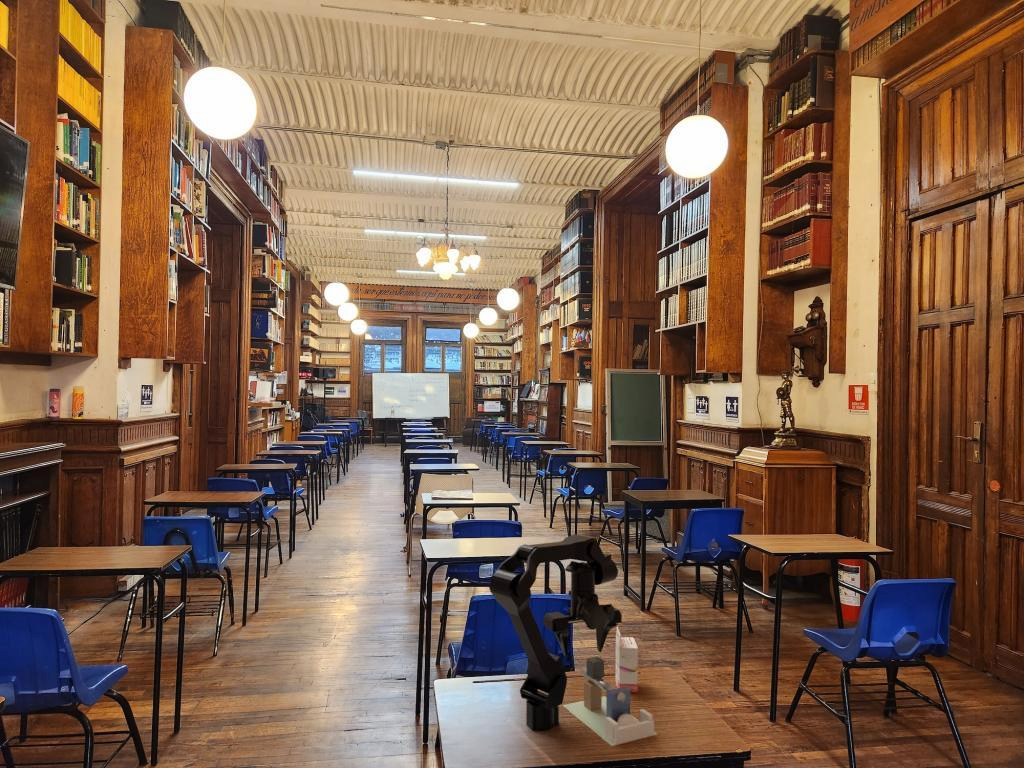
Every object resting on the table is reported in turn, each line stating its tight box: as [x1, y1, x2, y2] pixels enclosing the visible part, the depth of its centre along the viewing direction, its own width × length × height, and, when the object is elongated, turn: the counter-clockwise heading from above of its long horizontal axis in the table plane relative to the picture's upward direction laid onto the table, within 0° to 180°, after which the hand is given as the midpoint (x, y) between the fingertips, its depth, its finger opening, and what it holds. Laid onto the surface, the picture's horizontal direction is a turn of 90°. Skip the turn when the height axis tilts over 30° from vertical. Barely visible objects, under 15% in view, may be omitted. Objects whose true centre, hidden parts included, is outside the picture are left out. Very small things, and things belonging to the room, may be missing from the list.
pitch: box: [561, 680, 659, 747], centre depth 152 cm, size 12×21×7 cm, turn 25°
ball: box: [617, 714, 636, 727], centre depth 145 cm, size 4×4×4 cm
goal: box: [605, 708, 655, 746], centre depth 144 cm, size 10×4×4 cm, turn 115°
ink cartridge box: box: [614, 625, 639, 693], centre depth 171 cm, size 9×5×15 cm, turn 178°
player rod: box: [580, 656, 631, 722], centre depth 154 cm, size 5×16×11 cm, turn 25°
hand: (582, 654), depth 160 cm, fingers open, 9 cm apart
